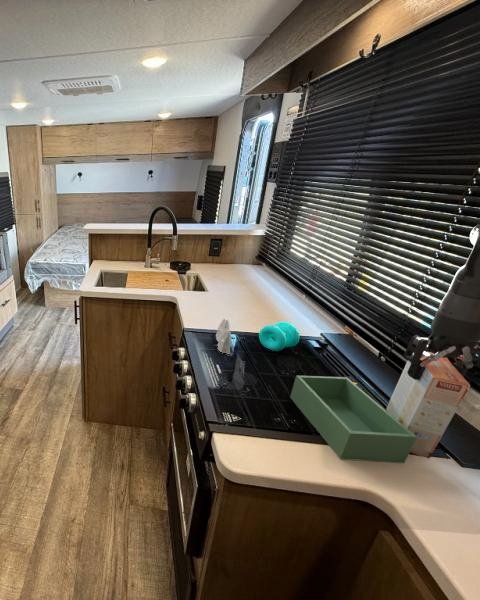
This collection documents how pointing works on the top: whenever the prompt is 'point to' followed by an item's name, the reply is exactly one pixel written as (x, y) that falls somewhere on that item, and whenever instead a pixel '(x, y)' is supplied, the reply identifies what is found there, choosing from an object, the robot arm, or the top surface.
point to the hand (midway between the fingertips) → (433, 378)
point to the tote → (351, 420)
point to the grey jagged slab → (224, 337)
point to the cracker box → (428, 402)
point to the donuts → (279, 336)
